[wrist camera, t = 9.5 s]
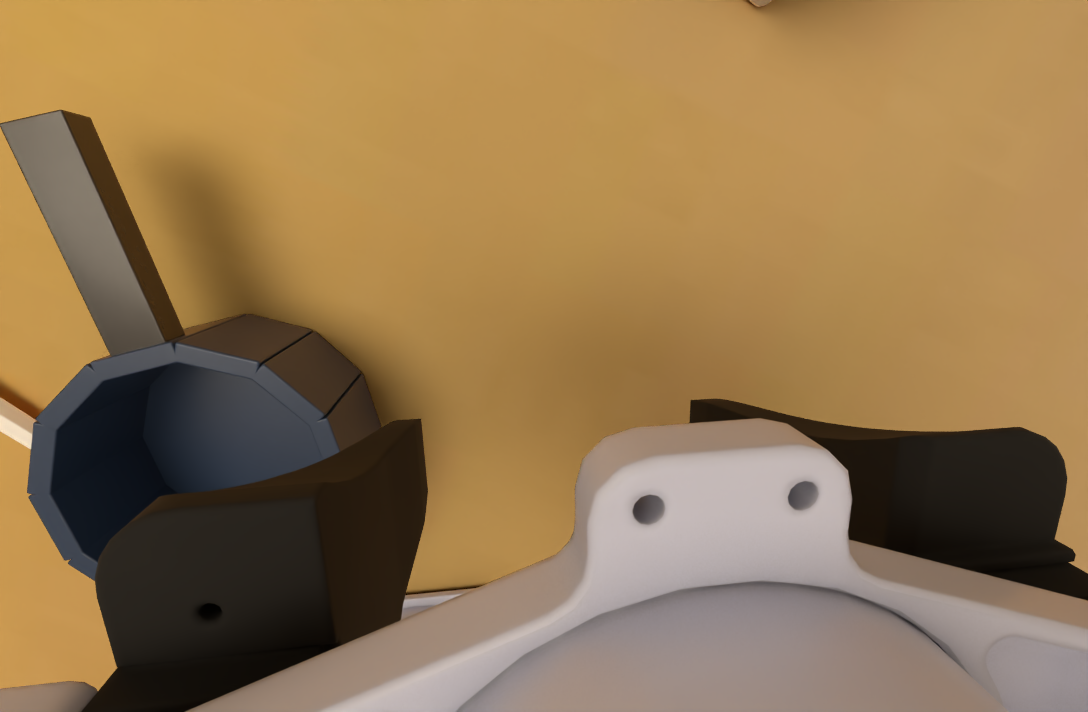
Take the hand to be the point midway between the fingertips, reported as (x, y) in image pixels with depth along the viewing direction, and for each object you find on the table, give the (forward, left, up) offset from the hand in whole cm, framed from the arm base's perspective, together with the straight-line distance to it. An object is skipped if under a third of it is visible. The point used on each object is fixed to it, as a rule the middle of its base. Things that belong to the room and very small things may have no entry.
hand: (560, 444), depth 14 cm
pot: (+1, +13, -10) cm, 16 cm away
